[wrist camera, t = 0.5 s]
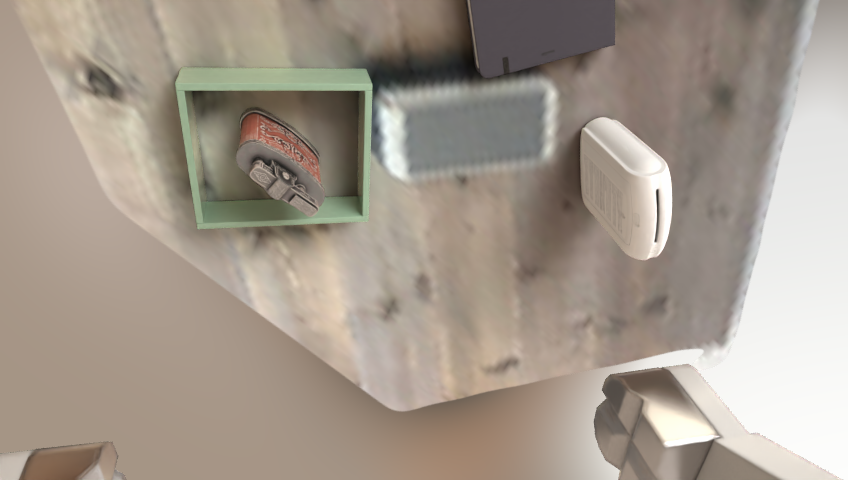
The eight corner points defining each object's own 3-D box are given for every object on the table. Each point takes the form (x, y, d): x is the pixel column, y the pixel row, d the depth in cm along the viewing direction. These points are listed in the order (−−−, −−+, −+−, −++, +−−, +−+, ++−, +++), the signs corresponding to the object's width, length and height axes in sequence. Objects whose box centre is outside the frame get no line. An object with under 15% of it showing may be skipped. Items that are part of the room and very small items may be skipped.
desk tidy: (180, 67, 49) (174, 83, 46) (366, 68, 53) (372, 83, 49) (201, 207, 56) (197, 229, 53) (363, 200, 60) (368, 221, 56)
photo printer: (616, 197, 66) (678, 262, 56) (579, 207, 66) (634, 274, 56) (616, 111, 60) (686, 166, 50) (576, 121, 60) (637, 179, 50)
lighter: (231, 126, 53) (224, 179, 45) (255, 98, 52) (252, 147, 44) (304, 178, 57) (309, 235, 49) (327, 153, 56) (336, 206, 48)
